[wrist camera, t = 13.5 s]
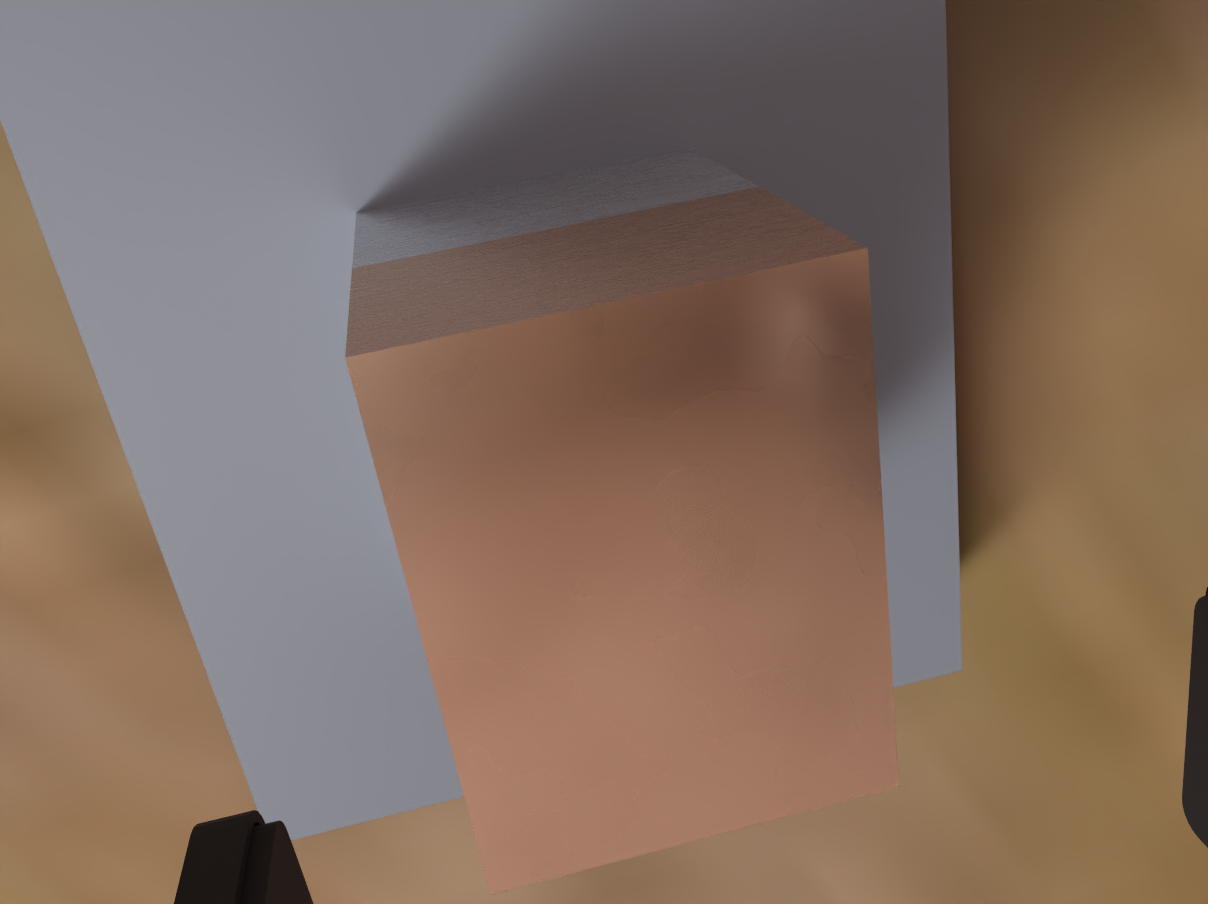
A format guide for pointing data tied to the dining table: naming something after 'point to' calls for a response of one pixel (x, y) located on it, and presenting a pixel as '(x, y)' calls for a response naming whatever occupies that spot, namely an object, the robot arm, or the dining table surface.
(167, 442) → the stand
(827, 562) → the block
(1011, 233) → the dining table surface
